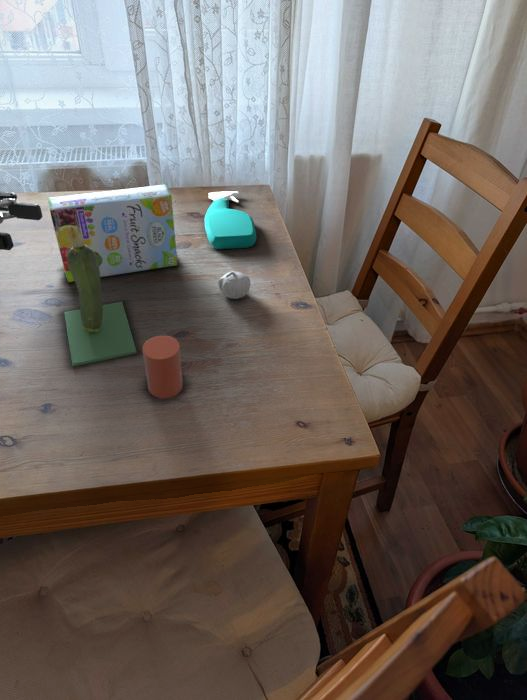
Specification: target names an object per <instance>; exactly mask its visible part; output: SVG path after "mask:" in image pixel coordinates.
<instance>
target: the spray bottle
mask: <svg viewBox="0 0 527 700" xmlns="http://www.w3.org/2000/svg"><path fill="white" fill-rule="evenodd" d="M239 195H240V193H239V191H234V190H233V191H232V190H231V191H230V190H229V191H213V192H208V199H209V200H212V203H211V204H210V205H209V207H208V209H207V211H206V213H205V215H204V229H205V233H206V236H207V239H208V241H209V243H210V246H212V247H213V248H214V249H215V250H227V249H228V250H229V249H230V250H231V249H248V248H251V247H253V246H254V245H255V243H256V241H257V230H256V226H255V222H254V220H253V217H252V216H251V215H250V214H248V213H247V212H245V211H243V210H239V209H236V208H235V209H234V208H230V206H229V205H230V201H233V202H235V203H238V204H239V202H240V201H239V200H238V199H237V198H236V197H239Z"/></svg>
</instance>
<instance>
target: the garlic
mask: <svg viewBox="0 0 527 700" xmlns="http://www.w3.org/2000/svg"><path fill="white" fill-rule="evenodd" d="M217 285H218V289H219V291H220V293H222V294H223V295H224V297H227V298H229V299H233V300H238V299H243V298H244V297H245V296H247V295H248V293H249V291H250V288H251V285H252V284H251V279H250V277H249V276H248V275H246V274H245V273H243V272H241V271H237V270H232V271H229V272H227V273H224V275H223V276H221V277H220V278H219V279H218V282H217Z"/></svg>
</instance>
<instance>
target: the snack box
mask: <svg viewBox="0 0 527 700" xmlns="http://www.w3.org/2000/svg"><path fill="white" fill-rule="evenodd" d="M47 203H48V207H49V214H50V218H51V221H52V225H53V229H54V234H55V238H56V242H57V246H58V249H59V253H60V259H61V262H62V267H63V270H64V274H65V277H66V280H67V282H68V283H73V282H75V281H74V278H73V276H72V274H71V272H70V270H69V267H68V263H67V256H68V252H69V250H70V249H71V248H72V247H73V246H72V244H71V241H70V237H69V234H68V230H69V227H72V226H73V228H75V229H76V230H77V231H78V232H79V233H80V234H81V236H82V238H83V240H84V245H86V246H88V247H90V248H91V249H92V250H93V251H94V253H95V255H96V257H97V260H98V264H99V269H100V278H103V277H109V276H116V275H123V274H129V273H137V272H143V271H149V270H155V269H161V268H169V267H174V266H175V267H176V266H178V256H177V244H176V243H177V242H176V231H175V220H174V219H175V218H174V208H173V196H172V194H171V192H170V190H169V189H168V187H167V185H166V184H158V185H150V186H140V187H133V188H123V189H114V190H107V191H106V190H105V191H96V192H89V193H79V194H71V195H63V196H52V197H47Z"/></svg>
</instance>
